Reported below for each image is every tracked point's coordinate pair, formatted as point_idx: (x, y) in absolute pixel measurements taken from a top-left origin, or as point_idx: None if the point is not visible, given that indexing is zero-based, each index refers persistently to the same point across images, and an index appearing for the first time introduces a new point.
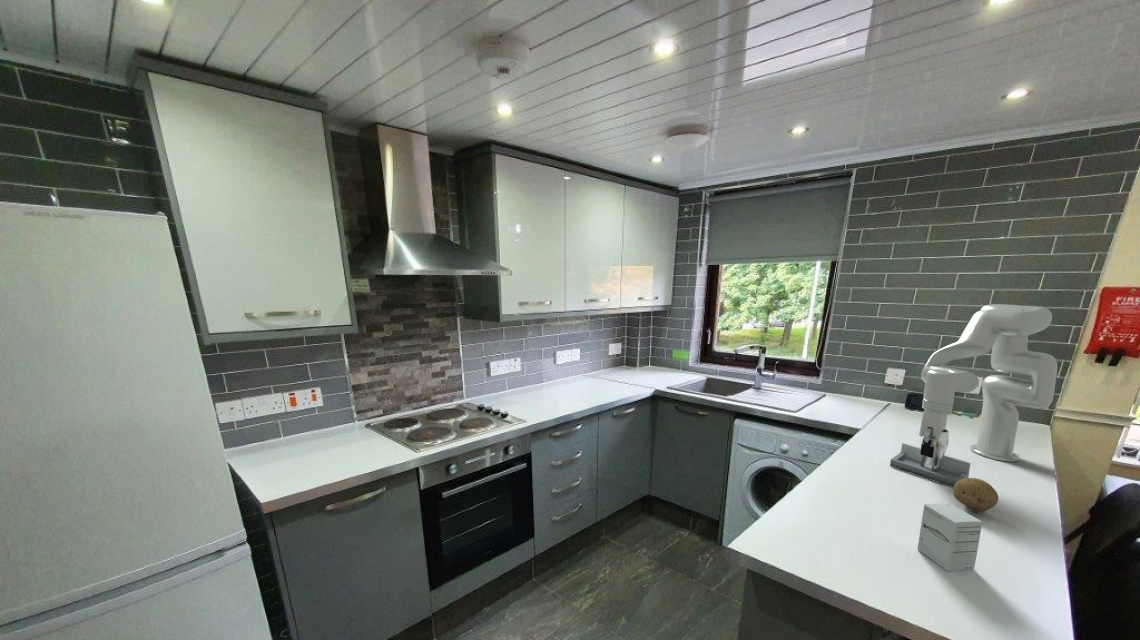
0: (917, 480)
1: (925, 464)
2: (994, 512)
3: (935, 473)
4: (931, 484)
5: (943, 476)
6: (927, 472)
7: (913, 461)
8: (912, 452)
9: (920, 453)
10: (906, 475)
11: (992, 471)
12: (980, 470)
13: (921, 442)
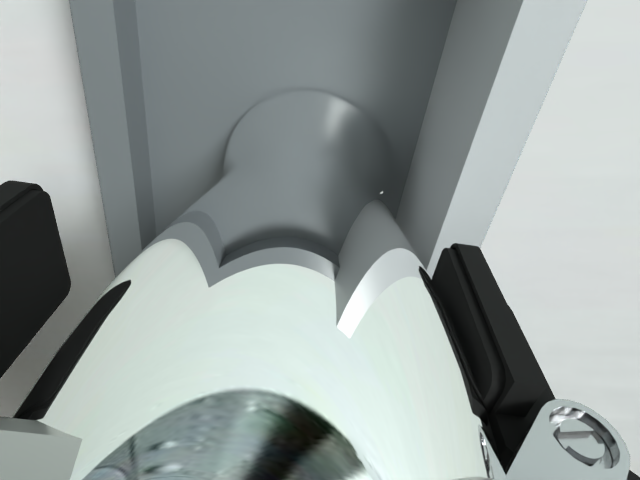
0: (6, 102)
1: (224, 163)
2: (24, 391)
3: (124, 227)
4: (46, 185)
5: (120, 269)
6: (103, 176)
7: (397, 33)
8: (480, 17)
9: (2, 185)
10: (11, 12)
11: (625, 408)
12: (602, 373)
13: (163, 243)
